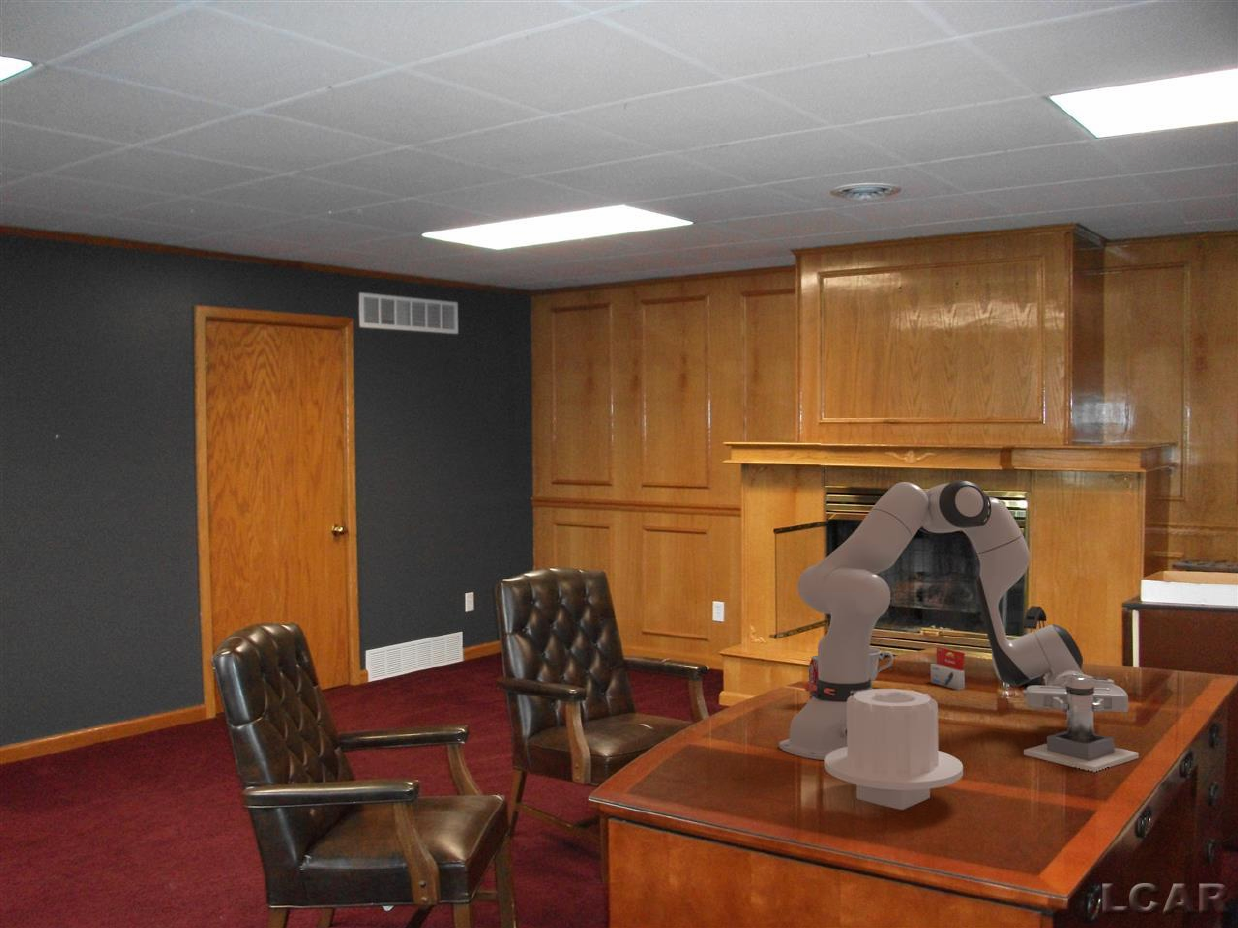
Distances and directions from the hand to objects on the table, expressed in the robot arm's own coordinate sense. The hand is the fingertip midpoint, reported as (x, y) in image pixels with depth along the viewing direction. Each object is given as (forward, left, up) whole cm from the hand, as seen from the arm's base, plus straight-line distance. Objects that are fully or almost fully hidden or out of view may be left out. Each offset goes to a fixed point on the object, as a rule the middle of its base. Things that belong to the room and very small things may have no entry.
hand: (1080, 707), depth 229 cm
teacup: (+16, +74, -11) cm, 76 cm away
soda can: (-7, +67, -11) cm, 68 cm away
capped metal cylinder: (+1, +1, -8) cm, 8 cm away
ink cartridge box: (+34, +61, -11) cm, 70 cm away
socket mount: (+1, +1, -10) cm, 11 cm away
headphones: (+59, +51, -11) cm, 78 cm away
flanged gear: (-50, +7, -11) cm, 52 cm away
